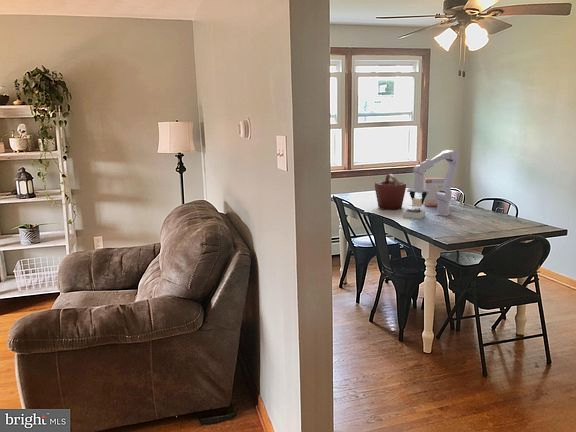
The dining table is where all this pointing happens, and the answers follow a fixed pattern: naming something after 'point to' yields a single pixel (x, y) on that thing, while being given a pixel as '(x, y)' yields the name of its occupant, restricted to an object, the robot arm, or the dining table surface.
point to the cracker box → (432, 190)
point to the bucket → (390, 193)
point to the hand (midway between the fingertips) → (417, 203)
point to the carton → (417, 201)
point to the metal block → (414, 210)
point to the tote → (413, 214)
